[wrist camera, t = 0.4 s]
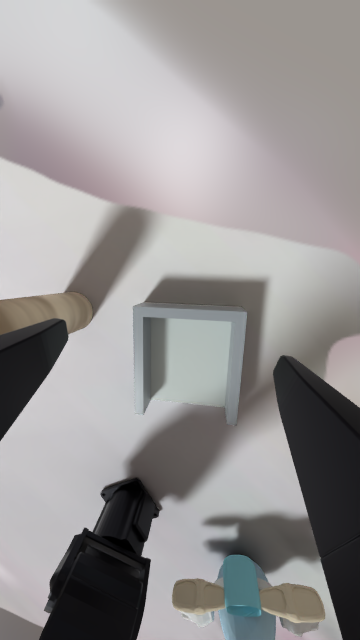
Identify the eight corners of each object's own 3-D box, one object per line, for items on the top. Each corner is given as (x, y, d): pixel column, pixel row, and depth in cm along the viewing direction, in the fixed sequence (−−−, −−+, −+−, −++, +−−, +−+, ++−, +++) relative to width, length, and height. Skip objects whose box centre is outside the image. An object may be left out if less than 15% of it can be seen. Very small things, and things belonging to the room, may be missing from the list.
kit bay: (144, 396, 27) (134, 414, 23) (143, 302, 25) (132, 306, 21) (232, 405, 26) (236, 425, 22) (241, 306, 23) (247, 312, 20)
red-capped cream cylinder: (70, 335, 27) (-58, 389, 14) (50, 302, 26) (-102, 328, 13) (99, 319, 26) (-10, 361, 13) (79, 285, 25) (-55, 294, 12)
